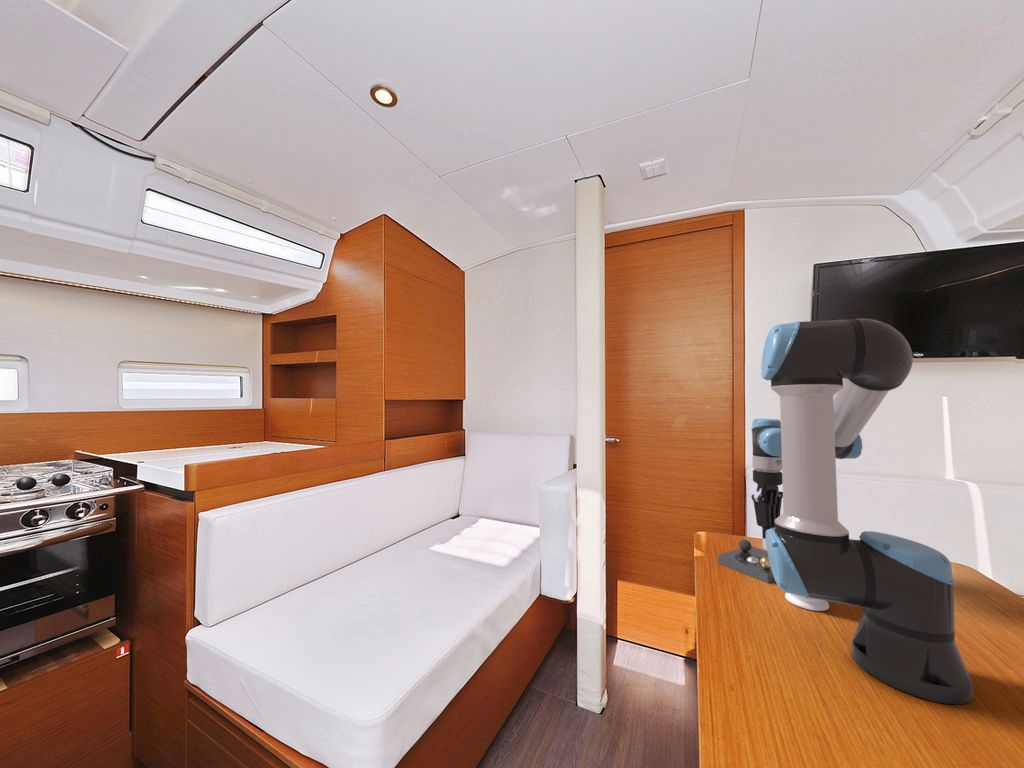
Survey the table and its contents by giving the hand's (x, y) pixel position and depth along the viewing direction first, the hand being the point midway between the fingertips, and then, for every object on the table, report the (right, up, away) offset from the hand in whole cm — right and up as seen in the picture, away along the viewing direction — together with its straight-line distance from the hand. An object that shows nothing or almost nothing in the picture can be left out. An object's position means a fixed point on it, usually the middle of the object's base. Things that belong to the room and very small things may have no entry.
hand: (768, 549), depth 116 cm
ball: (-7, -2, -4) cm, 9 cm away
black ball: (-6, 0, +3) cm, 6 cm away
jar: (-6, -3, -23) cm, 24 cm away
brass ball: (-7, 0, -10) cm, 12 cm away
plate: (-5, -4, -3) cm, 7 cm away
